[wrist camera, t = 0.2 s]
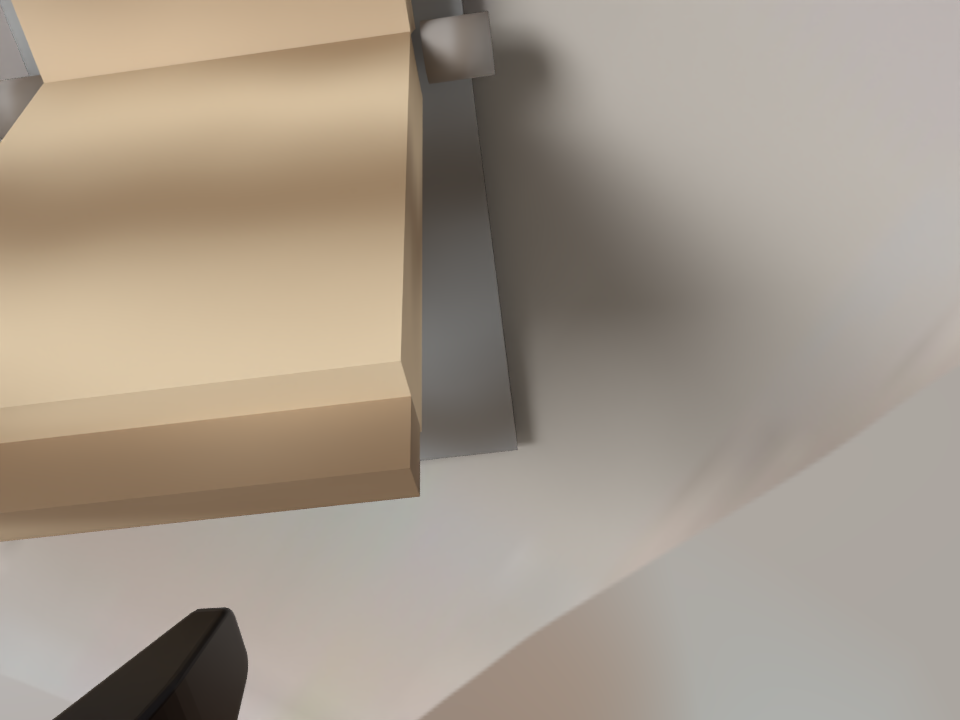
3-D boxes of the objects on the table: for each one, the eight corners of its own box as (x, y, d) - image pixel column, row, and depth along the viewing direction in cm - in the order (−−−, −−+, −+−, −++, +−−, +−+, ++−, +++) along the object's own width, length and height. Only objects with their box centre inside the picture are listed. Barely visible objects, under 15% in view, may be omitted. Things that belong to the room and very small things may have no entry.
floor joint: (-114, -261, 16) (-206, -295, 13) (446, -356, 15) (442, -408, 13) (186, 472, 25) (160, 519, 23) (533, 433, 25) (539, 478, 23)
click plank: (79, 144, 18) (43, 83, 17) (422, 97, 17) (410, 31, 16) (-170, 565, 10) (-267, 508, 9) (421, 502, 10) (398, 434, 9)
